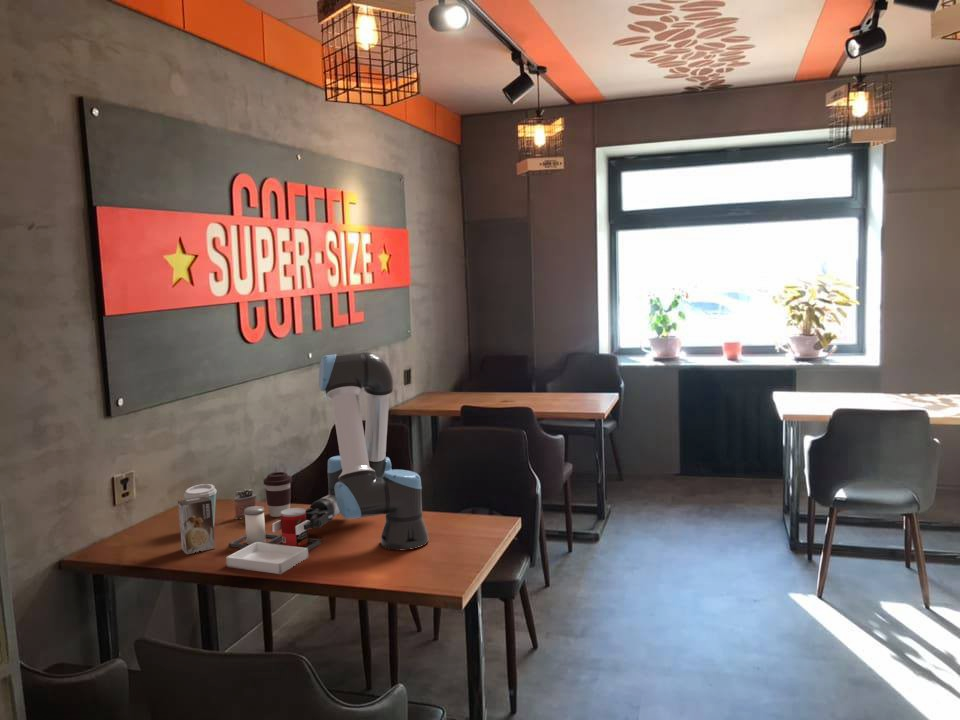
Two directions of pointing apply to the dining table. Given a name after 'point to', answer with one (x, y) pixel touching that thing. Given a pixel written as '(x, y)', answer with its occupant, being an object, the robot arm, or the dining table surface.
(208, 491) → the disposable coffee cup
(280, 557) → the tray
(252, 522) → the salt shaker
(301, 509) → the canned food
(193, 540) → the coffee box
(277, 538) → the rectangular frames
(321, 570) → the dining table surface
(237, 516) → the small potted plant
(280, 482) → the coffee cup
